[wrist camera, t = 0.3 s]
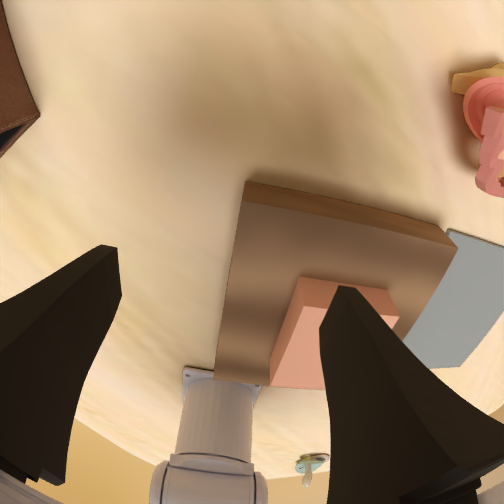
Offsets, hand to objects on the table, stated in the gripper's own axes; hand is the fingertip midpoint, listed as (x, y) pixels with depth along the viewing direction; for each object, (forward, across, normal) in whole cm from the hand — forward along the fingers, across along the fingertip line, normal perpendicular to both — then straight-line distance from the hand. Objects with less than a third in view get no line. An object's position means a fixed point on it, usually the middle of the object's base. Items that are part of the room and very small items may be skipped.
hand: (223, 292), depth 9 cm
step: (+10, -7, +8) cm, 14 cm away
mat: (+10, -22, +8) cm, 25 cm away
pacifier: (+10, -20, +46) cm, 52 cm away
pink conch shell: (+10, -15, -8) cm, 20 cm away
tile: (+7, -7, +8) cm, 12 cm away
